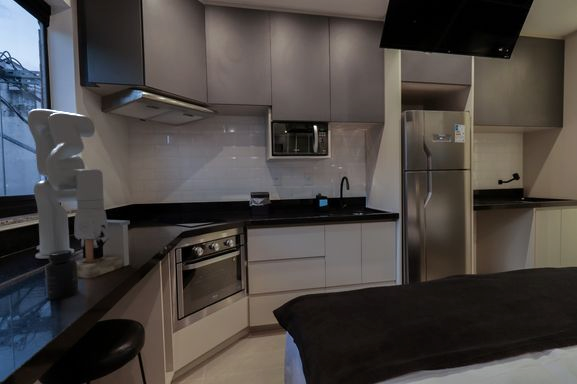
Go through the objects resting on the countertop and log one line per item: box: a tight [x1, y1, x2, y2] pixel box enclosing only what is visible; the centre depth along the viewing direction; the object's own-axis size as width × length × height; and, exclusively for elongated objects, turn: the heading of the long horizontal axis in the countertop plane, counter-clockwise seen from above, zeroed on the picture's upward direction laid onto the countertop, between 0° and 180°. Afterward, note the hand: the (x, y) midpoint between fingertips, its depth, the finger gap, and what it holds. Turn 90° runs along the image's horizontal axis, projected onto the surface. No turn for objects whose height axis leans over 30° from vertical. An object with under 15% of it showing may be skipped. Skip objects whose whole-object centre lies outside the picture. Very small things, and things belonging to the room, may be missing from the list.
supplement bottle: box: [44, 250, 80, 301], centre depth 77 cm, size 7×7×12 cm
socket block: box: [75, 256, 123, 279], centre depth 98 cm, size 12×12×4 cm
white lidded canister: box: [103, 219, 131, 267], centre depth 105 cm, size 12×4×16 cm, turn 74°
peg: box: [85, 237, 100, 264], centre depth 98 cm, size 4×4×12 cm
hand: (93, 257), depth 98 cm, fingers closed on peg, 4 cm apart
